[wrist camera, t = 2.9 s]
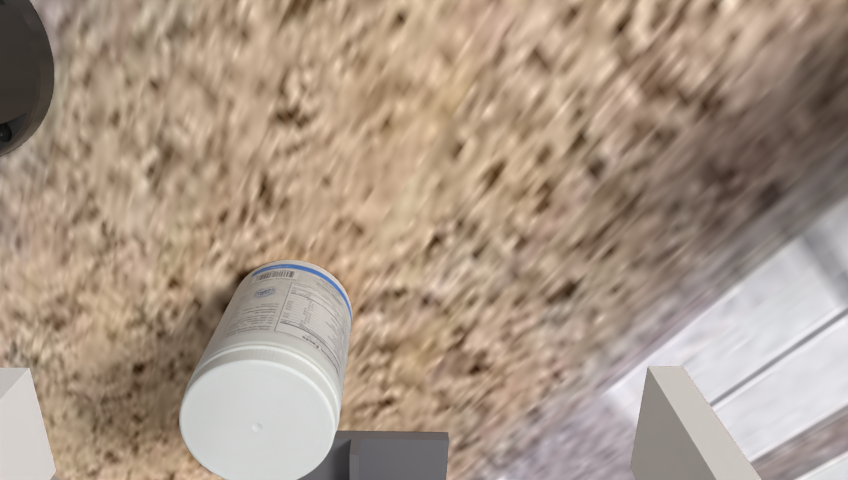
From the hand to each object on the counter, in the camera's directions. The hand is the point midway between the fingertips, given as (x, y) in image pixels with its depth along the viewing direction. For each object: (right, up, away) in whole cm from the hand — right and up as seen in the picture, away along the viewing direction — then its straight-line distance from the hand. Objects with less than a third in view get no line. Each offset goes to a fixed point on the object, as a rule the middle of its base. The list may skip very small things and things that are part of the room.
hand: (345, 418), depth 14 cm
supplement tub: (-9, -1, +38) cm, 39 cm away
